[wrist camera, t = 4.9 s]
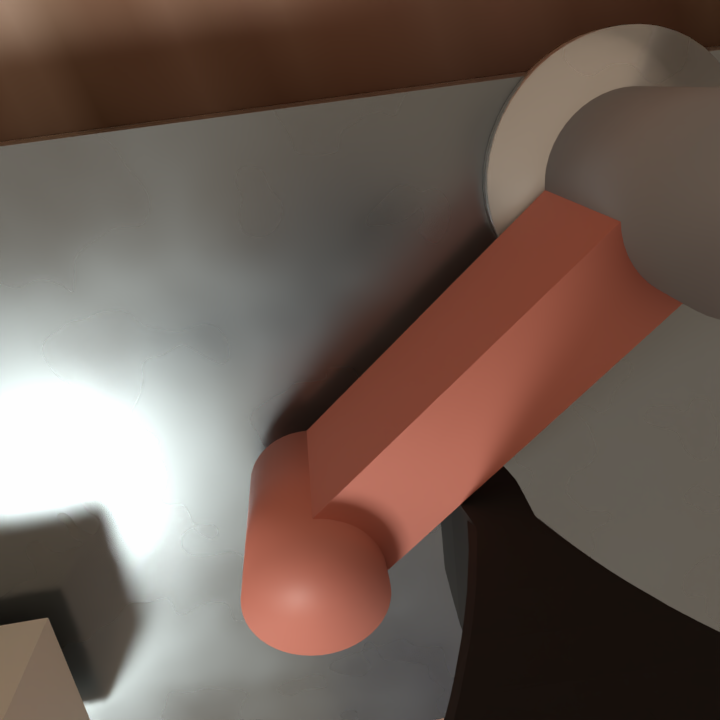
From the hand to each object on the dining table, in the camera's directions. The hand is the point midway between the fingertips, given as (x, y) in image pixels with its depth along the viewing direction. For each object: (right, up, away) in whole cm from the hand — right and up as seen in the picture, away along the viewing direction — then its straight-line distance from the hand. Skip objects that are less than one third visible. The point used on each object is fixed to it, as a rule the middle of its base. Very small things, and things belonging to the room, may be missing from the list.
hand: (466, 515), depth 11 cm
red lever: (0, +3, 0) cm, 3 cm away
